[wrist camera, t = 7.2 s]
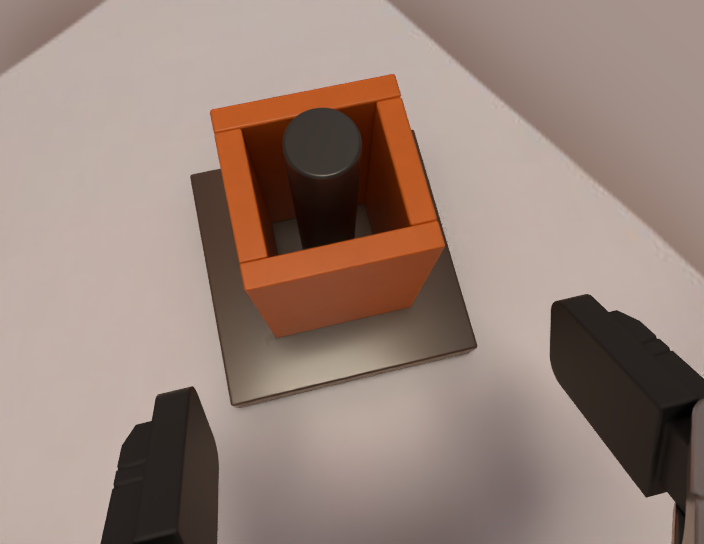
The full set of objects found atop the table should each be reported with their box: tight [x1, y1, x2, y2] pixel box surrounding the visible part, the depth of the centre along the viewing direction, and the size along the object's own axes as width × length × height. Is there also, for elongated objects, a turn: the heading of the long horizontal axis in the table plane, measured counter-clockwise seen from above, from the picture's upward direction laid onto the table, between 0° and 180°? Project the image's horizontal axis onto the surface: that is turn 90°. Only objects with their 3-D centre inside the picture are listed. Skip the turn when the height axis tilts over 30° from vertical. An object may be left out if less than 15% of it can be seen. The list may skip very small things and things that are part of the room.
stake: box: [190, 108, 477, 408], centre depth 20 cm, size 10×10×12 cm
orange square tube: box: [210, 74, 445, 338], centre depth 20 cm, size 6×6×8 cm
